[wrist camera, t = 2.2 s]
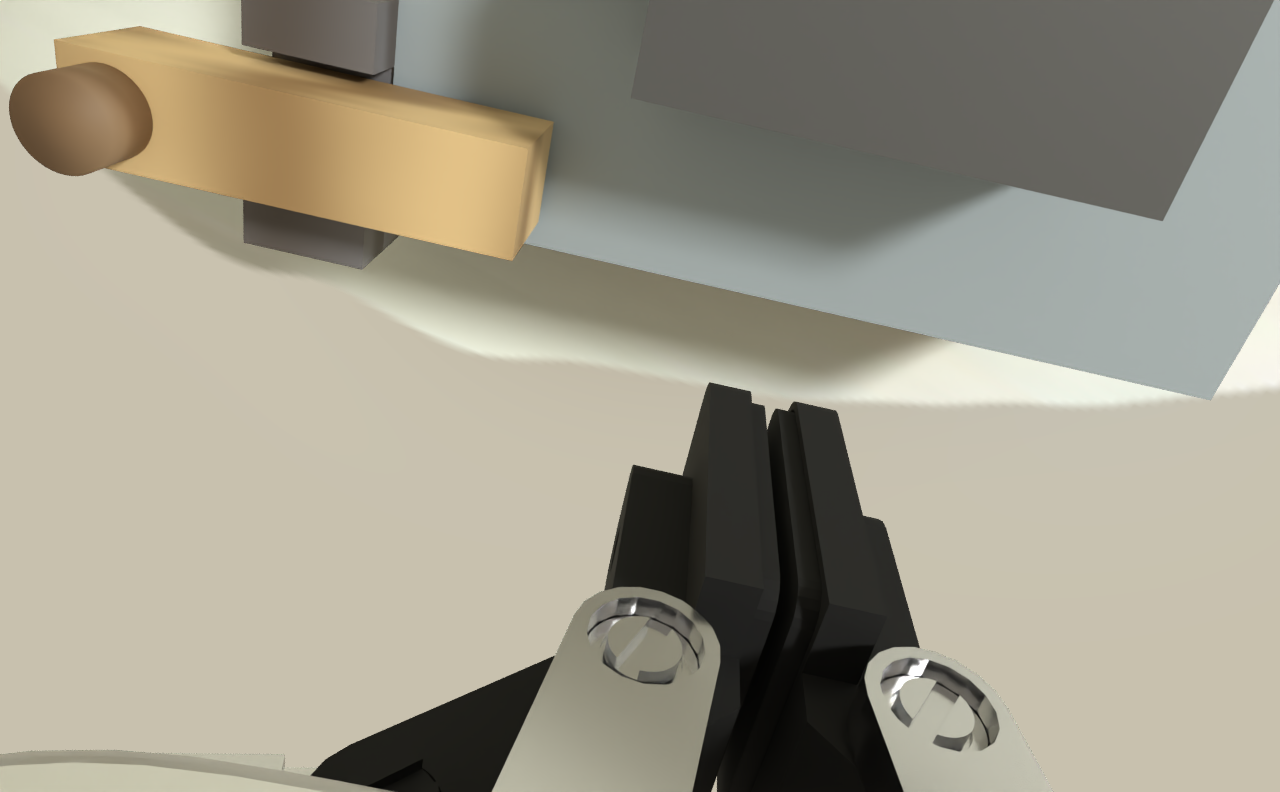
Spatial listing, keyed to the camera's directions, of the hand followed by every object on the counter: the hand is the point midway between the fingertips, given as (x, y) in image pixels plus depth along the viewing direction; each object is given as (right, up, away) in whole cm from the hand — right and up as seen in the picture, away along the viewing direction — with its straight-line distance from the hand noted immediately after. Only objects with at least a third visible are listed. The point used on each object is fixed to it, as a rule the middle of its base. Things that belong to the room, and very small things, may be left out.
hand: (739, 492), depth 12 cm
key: (-8, +8, +10) cm, 15 cm away
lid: (+4, +11, +10) cm, 15 cm away
